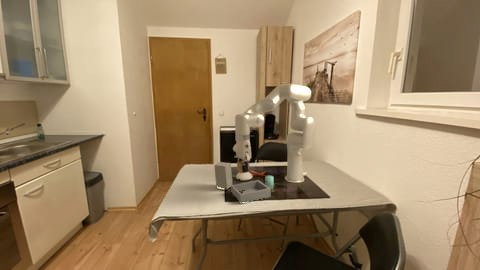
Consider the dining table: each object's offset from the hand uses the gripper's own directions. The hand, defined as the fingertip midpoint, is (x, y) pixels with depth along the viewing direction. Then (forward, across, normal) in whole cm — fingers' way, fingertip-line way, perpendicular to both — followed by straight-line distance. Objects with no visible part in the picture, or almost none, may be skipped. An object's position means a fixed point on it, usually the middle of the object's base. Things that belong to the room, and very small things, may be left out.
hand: (243, 170), depth 115 cm
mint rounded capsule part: (+16, +4, -19) cm, 25 cm away
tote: (+16, 0, -4) cm, 16 cm away
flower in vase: (+16, +25, -11) cm, 32 cm away
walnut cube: (+1, 0, 0) cm, 1 cm away
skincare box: (+16, +16, +6) cm, 23 cm away
